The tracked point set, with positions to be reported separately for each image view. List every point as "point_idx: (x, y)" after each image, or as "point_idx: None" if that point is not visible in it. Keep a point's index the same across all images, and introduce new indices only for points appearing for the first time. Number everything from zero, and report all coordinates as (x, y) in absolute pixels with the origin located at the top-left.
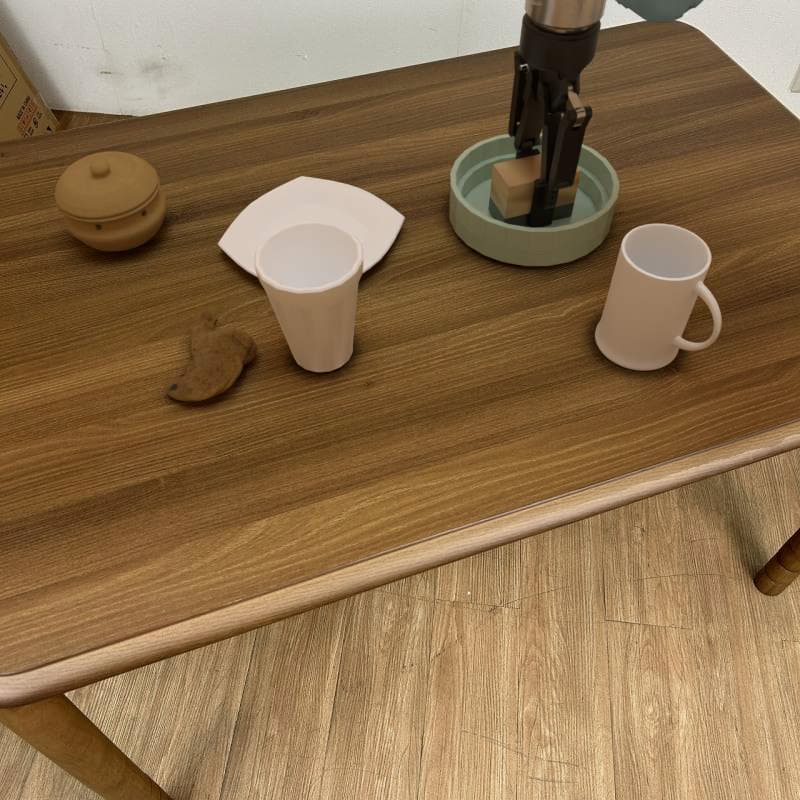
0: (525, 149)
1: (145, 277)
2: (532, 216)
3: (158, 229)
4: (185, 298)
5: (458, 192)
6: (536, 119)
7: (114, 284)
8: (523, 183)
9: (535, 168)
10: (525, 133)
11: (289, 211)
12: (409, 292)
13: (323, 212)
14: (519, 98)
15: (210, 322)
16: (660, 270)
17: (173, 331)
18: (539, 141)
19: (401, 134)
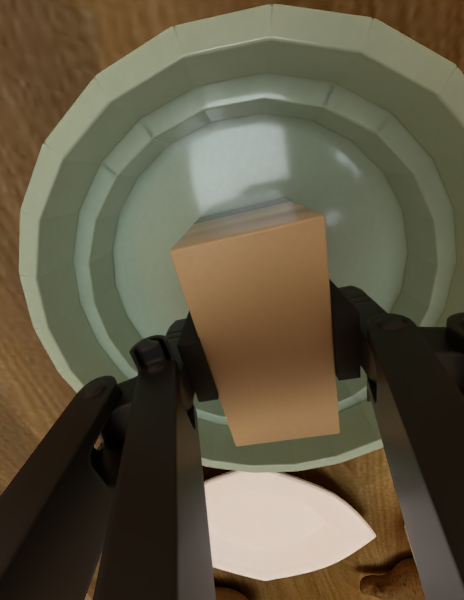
0: (190, 385)
1: (278, 586)
2: None
3: (232, 598)
4: (313, 574)
5: (277, 467)
6: (193, 531)
7: (282, 596)
8: (336, 403)
9: (275, 364)
10: (198, 466)
11: (210, 532)
12: (379, 455)
13: (214, 511)
14: None
15: (384, 596)
16: None
17: (351, 579)
18: (157, 350)
19: (17, 419)
